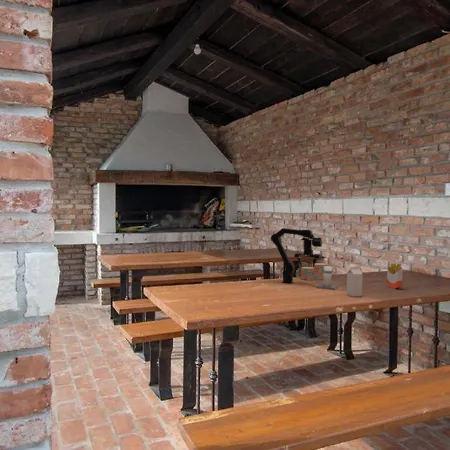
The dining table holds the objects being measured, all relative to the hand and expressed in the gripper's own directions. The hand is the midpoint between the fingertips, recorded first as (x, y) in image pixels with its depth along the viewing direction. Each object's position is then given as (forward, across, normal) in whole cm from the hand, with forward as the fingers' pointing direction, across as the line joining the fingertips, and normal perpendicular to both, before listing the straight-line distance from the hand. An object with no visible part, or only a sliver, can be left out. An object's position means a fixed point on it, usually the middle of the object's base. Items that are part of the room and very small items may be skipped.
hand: (307, 267), depth 316 cm
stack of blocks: (+13, 0, -24) cm, 28 cm away
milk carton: (+14, -37, +21) cm, 45 cm away
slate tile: (+13, -16, +5) cm, 21 cm away
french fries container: (+14, -59, -17) cm, 63 cm away
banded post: (+12, -16, +5) cm, 20 cm away
